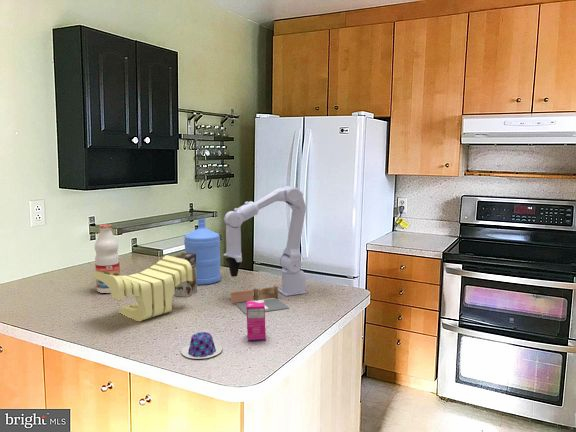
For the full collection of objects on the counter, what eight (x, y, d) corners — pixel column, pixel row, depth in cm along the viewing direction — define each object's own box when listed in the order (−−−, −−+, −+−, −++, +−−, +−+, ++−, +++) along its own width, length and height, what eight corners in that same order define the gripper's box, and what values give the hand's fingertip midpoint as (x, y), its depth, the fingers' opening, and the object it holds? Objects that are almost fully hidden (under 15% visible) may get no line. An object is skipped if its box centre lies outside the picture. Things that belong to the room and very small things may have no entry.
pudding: (172, 356, 138) (172, 339, 137) (196, 341, 149) (196, 325, 148) (208, 364, 133) (207, 346, 133) (229, 347, 144) (229, 331, 144)
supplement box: (246, 334, 154) (246, 300, 152) (265, 334, 154) (265, 299, 152) (246, 341, 148) (246, 306, 146) (265, 341, 148) (265, 305, 147)
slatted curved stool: (121, 330, 157) (118, 278, 154) (96, 319, 167) (93, 270, 164) (193, 307, 180) (192, 261, 177) (167, 298, 190) (166, 255, 187)
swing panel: (252, 299, 187) (252, 289, 186) (253, 300, 185) (253, 290, 185) (231, 302, 183) (230, 292, 183) (231, 303, 182) (231, 293, 182)
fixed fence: (276, 297, 191) (276, 286, 190) (278, 299, 189) (278, 287, 189) (252, 300, 187) (252, 289, 186) (254, 302, 185) (254, 290, 185)
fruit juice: (120, 286, 206) (116, 222, 202) (121, 292, 197) (118, 226, 193) (96, 289, 202) (92, 224, 198) (97, 295, 194) (93, 227, 190)
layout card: (270, 294, 195) (270, 293, 195) (289, 308, 178) (289, 307, 178) (230, 299, 189) (230, 298, 189) (245, 314, 171) (245, 313, 171)
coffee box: (188, 297, 192) (187, 258, 189) (174, 296, 193) (172, 257, 191) (197, 290, 200) (196, 253, 198) (183, 289, 202) (182, 252, 199)
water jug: (227, 279, 218) (226, 218, 214) (204, 287, 205) (202, 223, 201) (202, 274, 226) (200, 215, 222) (178, 282, 213) (176, 220, 209)
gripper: (218, 239, 191) (219, 272, 192) (228, 246, 177) (229, 282, 179) (235, 238, 193) (236, 270, 195) (247, 245, 180) (247, 279, 182)
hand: (234, 276), depth 187 cm, fingers closed
